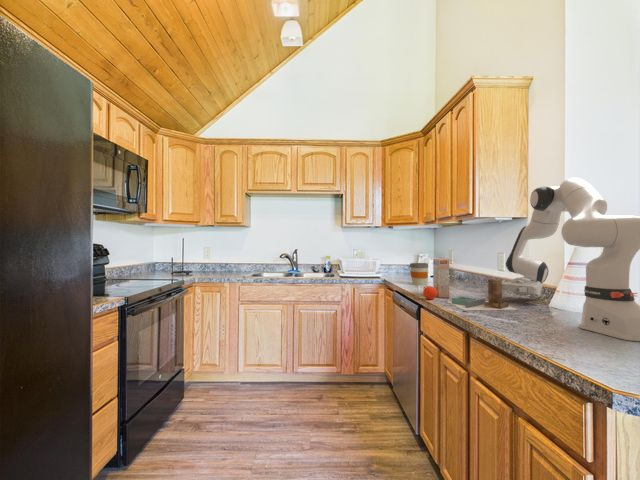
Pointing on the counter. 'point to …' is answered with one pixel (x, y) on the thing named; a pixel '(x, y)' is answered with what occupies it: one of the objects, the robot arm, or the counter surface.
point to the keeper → (496, 305)
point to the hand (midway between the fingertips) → (507, 288)
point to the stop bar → (495, 291)
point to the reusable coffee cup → (419, 273)
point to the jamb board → (478, 305)
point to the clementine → (429, 292)
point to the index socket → (461, 300)
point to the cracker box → (441, 277)
